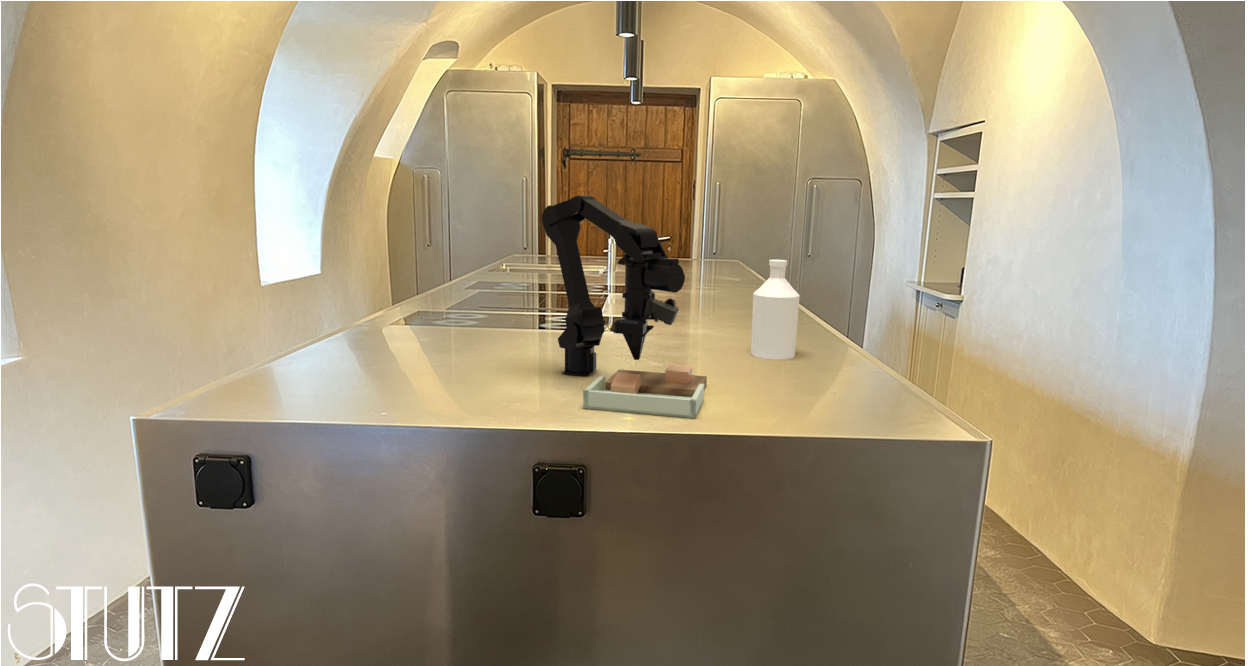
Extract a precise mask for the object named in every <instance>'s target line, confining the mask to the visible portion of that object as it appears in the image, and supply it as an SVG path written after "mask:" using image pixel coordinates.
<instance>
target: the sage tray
mask: <svg viewBox="0 0 1250 666" xmlns="http://www.w3.org/2000/svg"><path fill="white" fill-rule="evenodd" d="M605 382H606V375H599V376H598V377H597V378H596V379H595V380H594V381H593V382H592V383H590V384H589V385H588V386H587V387H586V388H585V389H584V390H583V394H582V396H583V398H582V400H583V402H582V406H583V407H582V408H583V409H586V408H587V409H588V410H596V411H597V410H598V411H610V412H621V413H631V414H642V415H652V416H654V415H655V416H663V417H674V418H683V419H684V418H686V419H696V418H697V416H698V413H699V411H700V409H701V407H702V405H703V403H704V399H705V389H704V384H699V385H698V387H697V389H696V391H695V393H694V395H693V396H692V397H683V396H671V395H660V394H648V393H637V394H630V393H618V392H611V390H605Z"/></svg>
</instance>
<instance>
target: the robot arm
mask: <svg viewBox="0 0 1250 666" xmlns="http://www.w3.org/2000/svg"><path fill="white" fill-rule="evenodd" d="M585 220H587V221H589V222H590V223H592V224H593V225H595V226H596V227H598V228H599V229H601V230H602V231H603V232H605V233H607V235H609V236H611V238H613V239H614V242H615V245H616V247H618V248H619V250H621V251H622V252H623V253H624V255H623V256H622V257H621V258H620V259H619V260H618V261H617V265H619V266H624V267H625V268H624V270H625V271H624V291H623V292H622V299H624V310H623V311H622V312H621V317H619V318H618V319H617V320H616V321H615V322H614V323H613V325H612V326H613V327H612V332H613V333H614V334H619V335H620V334H621V335H622V336H623V338H624V340H625V342H626V344H627V346H628V349H629V351H630V354H631V356H632V358H633V360H635V361H639V360H640V359H641V355H642V351H643V348H644V344H645V341H646V336H647V334H648V333H649V332H651V330H652V329H654V328H655V325H649V323H648V320H649V321H650V320H654V322H655V323H658V322H659V321H660V322H663V324H664V325H668V326H672V324H673V323H674V322H675V320H676V317H677V315H678V313H679V310H680V309H679V307H677V303H676V300H675V299H673V298H670V297H668V298H667V299H666V300H665V301H663V300H659V299H656V293H655V291H660V292H668V293H678V292H679V291H681V290H682V288H683V286H684V284H685V280H686V279H685V278H686V275H685V272H684V269H683V267H682V266H681V265H680V264H679V262H680V261H679V258H669V257H668V255H667V254H666V252H665V249H664V248H663V245H662V243H661V241H660V240H659V238H658V233H657V231H656V230H655V228H654V227H653V228H652V227H651V226H647V225H645V224H642V223H637V222H634V221H630V220H628V219H626V218H625V217H623V216H621V215H620V214H618V213H616V212H615V211H614V210H612V209H610V207H608V206H605V205H604V204H603V203H601V202H600V201H599V200H597V199H596V197H594V196H593V195H586V194H585V195H581V194H580V195H578V194H577V195H575V196H572V197H571V198H569V199H568V200H564V201H562V202H559V203H557V204H553V205H547V206H546V207H545V208H544V210H543V212H542V214H541V223H542V226H543V228H544V231H545V235H546V236H547V237H548V239H549V240H550V241H552V243H553V244H554V246H555V249H556V253H557V258H558V262H559V266H560V272H561V275H562V280H563V284H564V290H565V293H566V298H567V302H568V310H567V313H566V316H565V326H566V328H565V329H564V331H563V332H562V333H561V334H560V335H559V336H558V338H557V342H558V347H559V348H561V349H564V370H563V371H562V375H569V376H570V375H572V376H584V377H589V376H591V375H592V374H593V373H594V372H596V371H597V352H595V346H596V347H598V346H600V344H601V341H602V339H603V338H602V337H603V335H604V333H605V325H606V322H605V320H604V315H603V309H602V307H601V306H595V305H594V304H593V302H591V299H590V295H589V294H590V293H589V290H588V286H587V285H588V284H587V279H586V276H585V272H584V268H583V263H582V258H581V254H580V250H579V246H578V238H579V235H580V231H581V223H582V222H584V221H585ZM654 290H655V291H654Z"/></svg>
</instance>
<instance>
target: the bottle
mask: <svg viewBox="0 0 1250 666" xmlns="http://www.w3.org/2000/svg"><path fill="white" fill-rule="evenodd" d="M768 265H769V277H768V278H767V280H766V281H764V282H763V284H762V285H760V287H759V288H758V289H756V290H755V291H754V292H753V293H752V313H751V314H752V316H751V317H752V318H751V319H752V320H751V340H750V341H751V342H750V344H751V346H750V348H751V349H750V355H751V356H753V357H756V358H759V359H765V360H774V361H777V360H778V361H779V360H780V361H784V360H791V359H793V358H795V356H796V355H795V353H796V342H797V341H796V340H797V333H798V332H797V330H798V321H799V320H798V319H799V307H800V296H801V295H800V294H799V293H798V291H796V290H795V289H794V288H793V287H792V285H791V284H790V283H789V281H788V280H787V279H786V269H787V268H786V267H787V266H788V260H787V259H769V263H768Z"/></svg>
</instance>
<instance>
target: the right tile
mask: <svg viewBox="0 0 1250 666" xmlns="http://www.w3.org/2000/svg"><path fill="white" fill-rule="evenodd" d="M664 371H665V372H664V373H665V382H673V383H685V384H688V383H689V382H690V380H691V378H692V375H693V367H692V366H683V365H671V364H669V365H668V367H666V369H665V370H664Z"/></svg>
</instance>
